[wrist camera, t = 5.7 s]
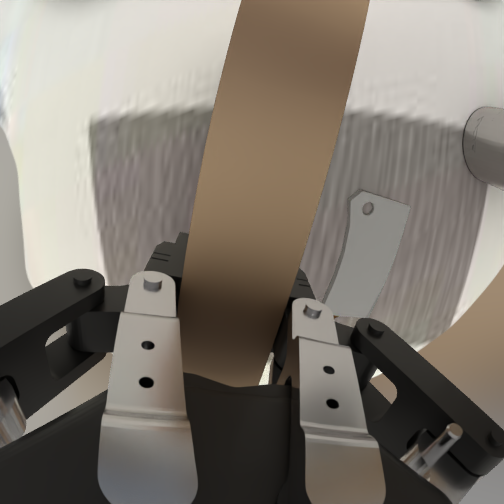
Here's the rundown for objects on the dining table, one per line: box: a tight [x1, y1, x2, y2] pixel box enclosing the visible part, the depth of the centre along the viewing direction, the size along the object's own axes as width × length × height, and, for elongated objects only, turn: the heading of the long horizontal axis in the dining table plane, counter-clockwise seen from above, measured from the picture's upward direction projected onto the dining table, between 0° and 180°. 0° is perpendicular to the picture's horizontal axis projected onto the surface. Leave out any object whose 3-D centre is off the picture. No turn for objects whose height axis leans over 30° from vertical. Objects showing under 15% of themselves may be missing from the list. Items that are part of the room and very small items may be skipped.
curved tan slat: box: [177, 0, 370, 387], centre depth 12 cm, size 22×3×6 cm, turn 167°
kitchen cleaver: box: [322, 190, 411, 319], centre depth 36 cm, size 24×1×10 cm
